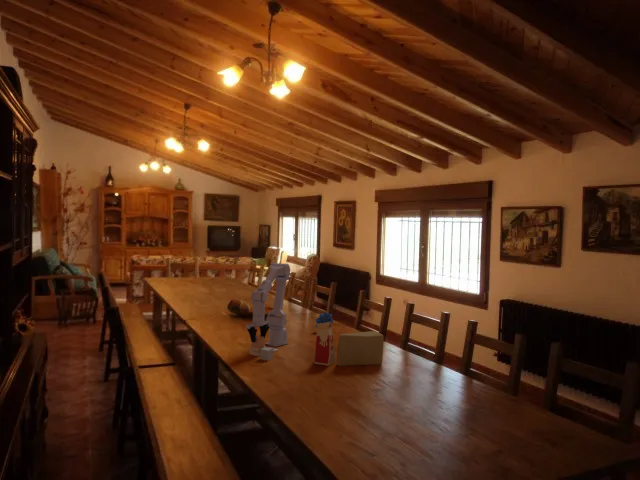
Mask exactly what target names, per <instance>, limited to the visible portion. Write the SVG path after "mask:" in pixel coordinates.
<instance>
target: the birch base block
mask: <svg viewBox="0 0 640 480" xmlns="http://www.w3.org/2000/svg"><path fill="white" fill-rule="evenodd" d="M265 347H267V346H266V345H264V347H261V348H255V347H251V346H248V348H249V349H248V355H251V356H255V357H260V349H262V348H265Z"/></svg>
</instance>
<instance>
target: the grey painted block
mask: <svg viewBox="0 0 640 480" xmlns="http://www.w3.org/2000/svg"><path fill="white" fill-rule="evenodd" d="M268 347H269V346H266V347H265V348H262V349H260V356H259V359H260V360H263V361H268V362H269V361H270V360H273V359H274V352H273V348H274V347H273V348H268Z"/></svg>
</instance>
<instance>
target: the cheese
mask: <svg viewBox="0 0 640 480" xmlns="http://www.w3.org/2000/svg"><path fill="white" fill-rule="evenodd" d="M384 339H385V338H384V335H383V334H382V333H379V332H378V331H376V330H373V331H372V330H371V331H361V332H353V333H341V334H340V335H339V337H338V341H337V342H338V343H337V350H336V365H337V366H338V367H341V366H342V367H343V366H345V367H347V366H370V365H371V366H376V365H377V366H379V365H382V364H383V357H384V356H383V355H384Z"/></svg>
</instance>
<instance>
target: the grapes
mask: <svg viewBox="0 0 640 480" xmlns="http://www.w3.org/2000/svg"><path fill="white" fill-rule="evenodd" d="M327 322H330V325H331V326H332V324H333V322H334V319H333V314H332V313H329V312H328V311H325V312H324V313H320V314H319V316H318V317H317V318H316V319H315V324H314V327H315V328H316V329H317V325H316V324H322V323H327Z"/></svg>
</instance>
